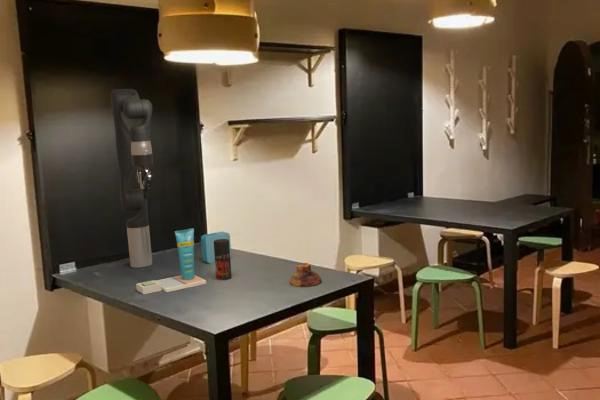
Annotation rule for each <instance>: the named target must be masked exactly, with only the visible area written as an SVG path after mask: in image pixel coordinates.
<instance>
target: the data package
mask: <svg viewBox="0 0 600 400" xmlns="http://www.w3.org/2000/svg"><path fill="white" fill-rule="evenodd" d="M217 239H228V240H229V248H230V259H231V258H232V247H231V246H232V245H231V234H230V233H229V232H226V231H217V232H212V233H211V232H210V233H206V234H203V235H201V237H200V243H201V258H202V261H203V262H204V263H206V264H215V254H214V240H217Z"/></svg>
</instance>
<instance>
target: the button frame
mask: <svg viewBox="0 0 600 400" xmlns="http://www.w3.org/2000/svg"><path fill="white" fill-rule="evenodd" d="M149 281H150V280H148V281H147V282H149ZM151 281H153V282H155V283H156V284H154V285H150V286H143V285H141V283H144V282H145V281H143V282H139V283H136V284H135V286H136V288H135V289H136V291H137V292H139V293H140V294H142V295H147V294H151V293H152V294H153V293H156V292H161V291H163V290H162V289H161V284H160V283H158V282H157V280H155V279H154V280H153V279H151Z"/></svg>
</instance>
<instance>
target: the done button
mask: <svg viewBox="0 0 600 400" xmlns="http://www.w3.org/2000/svg"><path fill="white" fill-rule="evenodd" d="M148 281H149V282H148ZM148 281H143V282H144V283H143V282H140V283H141V285H143V286H150V285H154V284H156V283H155V282H153V281H152V280H148Z"/></svg>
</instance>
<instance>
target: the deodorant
mask: <svg viewBox="0 0 600 400" xmlns="http://www.w3.org/2000/svg"><path fill="white" fill-rule="evenodd" d="M214 254H215V263H214V264H215V265H214V267H215V277H216V278H215V279H216V280H217V281H227V280H231V279H232V277H233V276H232V262H231V258H230V248H229V240H228V239H217V240H214Z"/></svg>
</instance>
